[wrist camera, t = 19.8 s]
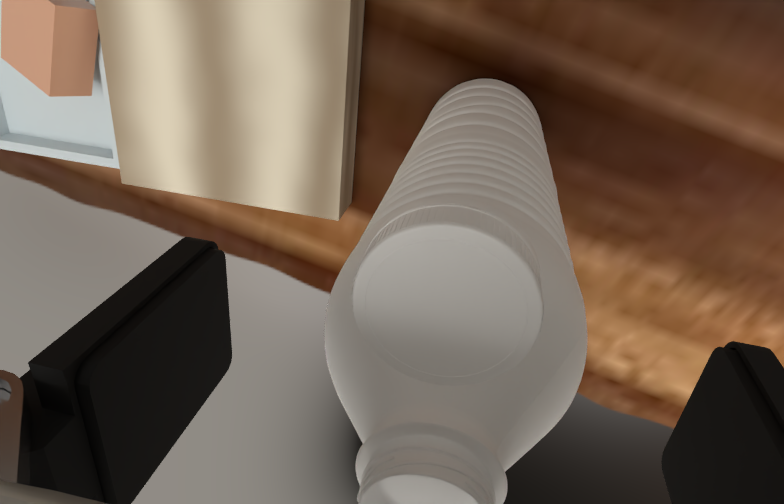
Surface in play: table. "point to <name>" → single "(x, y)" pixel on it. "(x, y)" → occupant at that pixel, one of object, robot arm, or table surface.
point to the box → (57, 118)
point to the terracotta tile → (51, 43)
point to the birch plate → (236, 98)
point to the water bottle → (458, 308)
